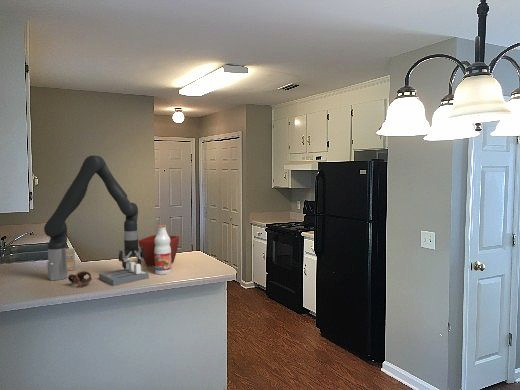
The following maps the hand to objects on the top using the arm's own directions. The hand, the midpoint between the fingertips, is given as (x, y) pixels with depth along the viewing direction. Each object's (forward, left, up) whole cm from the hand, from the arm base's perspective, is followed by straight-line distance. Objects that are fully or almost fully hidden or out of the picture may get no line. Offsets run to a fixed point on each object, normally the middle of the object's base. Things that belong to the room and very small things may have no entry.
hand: (132, 267), depth 237 cm
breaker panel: (-5, 0, -6) cm, 8 cm away
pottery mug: (-27, +4, -6) cm, 28 cm away
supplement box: (-21, +43, -6) cm, 49 cm away
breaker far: (0, +6, -2) cm, 7 cm away
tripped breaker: (0, 0, -2) cm, 2 cm away
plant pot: (+26, +15, -6) cm, 31 cm away
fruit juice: (+17, -5, -6) cm, 19 cm away
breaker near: (0, -7, -2) cm, 7 cm away
